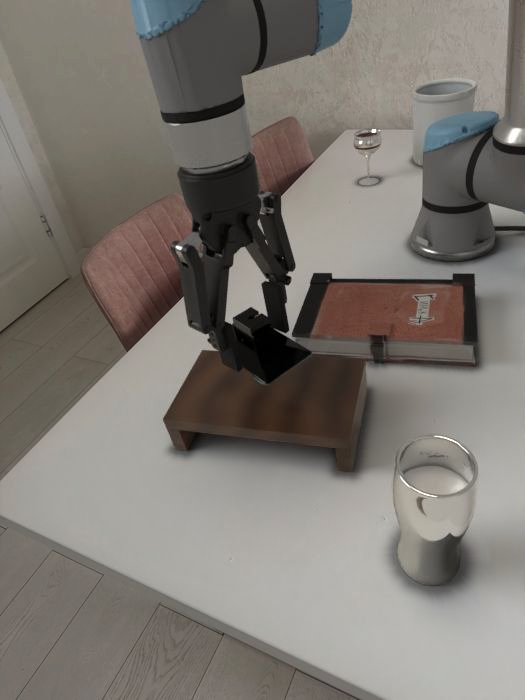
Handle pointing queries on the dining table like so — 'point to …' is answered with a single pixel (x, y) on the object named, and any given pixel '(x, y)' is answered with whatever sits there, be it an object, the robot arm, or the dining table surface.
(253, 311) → the build plate
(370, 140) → the wineglass
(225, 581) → the dining table surface
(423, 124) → the utensil holder
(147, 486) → the dining table surface
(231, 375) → the shelf
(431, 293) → the book
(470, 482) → the beer glass
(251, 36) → the robot arm
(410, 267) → the dining table surface
